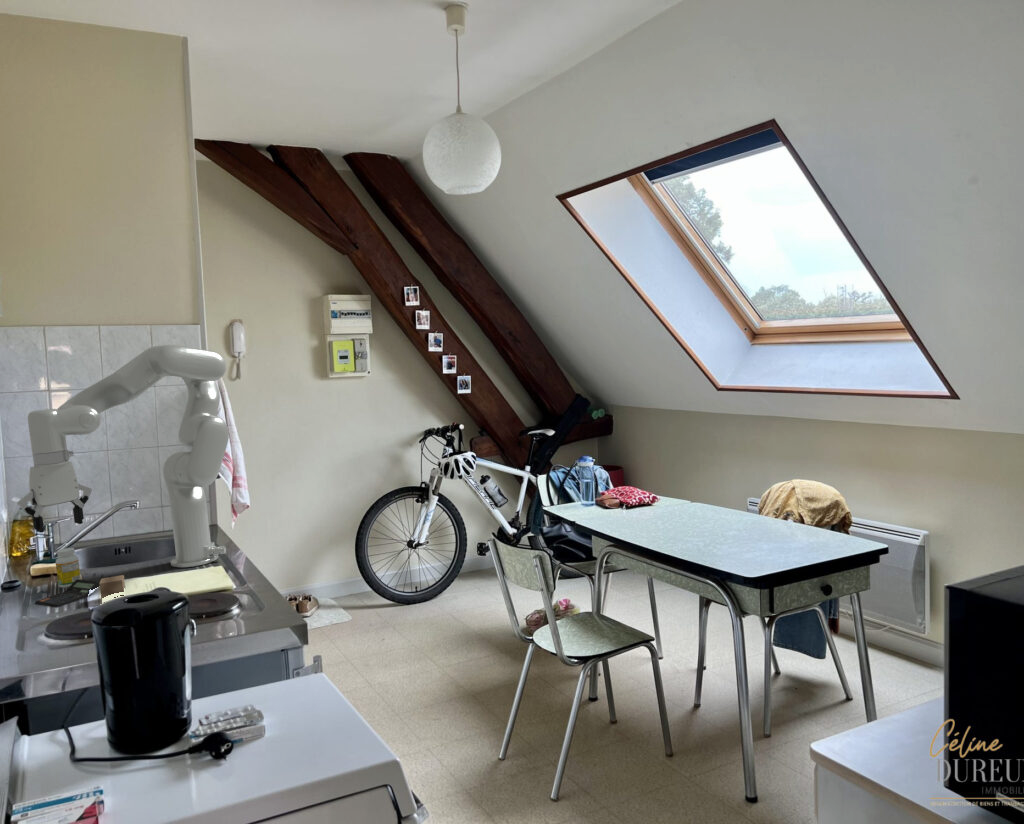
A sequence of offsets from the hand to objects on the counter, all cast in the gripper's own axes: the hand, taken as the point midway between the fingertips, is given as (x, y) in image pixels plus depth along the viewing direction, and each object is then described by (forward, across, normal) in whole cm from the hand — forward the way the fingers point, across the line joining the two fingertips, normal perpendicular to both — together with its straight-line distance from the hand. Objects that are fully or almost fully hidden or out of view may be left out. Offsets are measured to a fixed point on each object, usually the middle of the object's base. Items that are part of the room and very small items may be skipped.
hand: (59, 527), depth 198 cm
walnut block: (+18, -5, +13) cm, 23 cm away
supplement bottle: (+18, -5, -12) cm, 23 cm away
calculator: (+19, 0, 0) cm, 19 cm away
